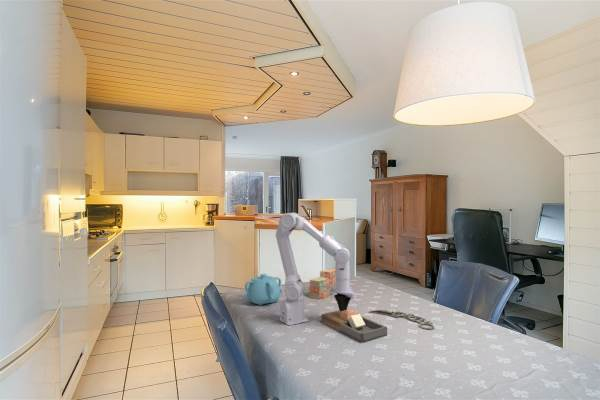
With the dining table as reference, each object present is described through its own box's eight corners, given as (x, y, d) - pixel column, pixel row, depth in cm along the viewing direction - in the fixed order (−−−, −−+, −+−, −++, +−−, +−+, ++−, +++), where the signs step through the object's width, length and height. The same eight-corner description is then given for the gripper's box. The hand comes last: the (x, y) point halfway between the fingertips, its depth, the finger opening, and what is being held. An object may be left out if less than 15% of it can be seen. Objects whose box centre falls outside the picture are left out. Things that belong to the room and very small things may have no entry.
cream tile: (353, 330, 122) (356, 327, 120) (347, 319, 125) (350, 315, 123) (362, 327, 124) (365, 324, 123) (356, 317, 127) (359, 313, 125)
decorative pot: (257, 296, 172) (256, 270, 172) (285, 298, 166) (284, 271, 166) (240, 305, 157) (240, 276, 157) (271, 308, 151) (270, 278, 151)
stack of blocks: (319, 300, 164) (319, 275, 164) (309, 298, 168) (309, 273, 168) (342, 291, 180) (342, 268, 180) (332, 289, 184) (332, 267, 184)
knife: (368, 310, 144) (382, 304, 150) (368, 314, 144) (382, 308, 150) (428, 330, 121) (442, 322, 128) (428, 334, 121) (442, 326, 128)
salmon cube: (347, 320, 125) (347, 313, 125) (340, 318, 128) (340, 311, 129) (356, 318, 127) (356, 311, 127) (349, 315, 131) (348, 309, 131)
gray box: (361, 343, 112) (361, 334, 112) (340, 331, 123) (339, 323, 123) (387, 335, 118) (387, 327, 118) (364, 325, 129) (364, 317, 129)
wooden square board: (339, 331, 123) (339, 323, 123) (321, 321, 133) (321, 314, 133) (364, 325, 129) (364, 317, 129) (344, 316, 139) (344, 309, 139)
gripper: (362, 280, 127) (363, 316, 126) (339, 274, 139) (339, 306, 139) (348, 283, 123) (348, 319, 123) (325, 276, 135) (326, 309, 135)
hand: (343, 313), depth 131 cm, fingers closed
